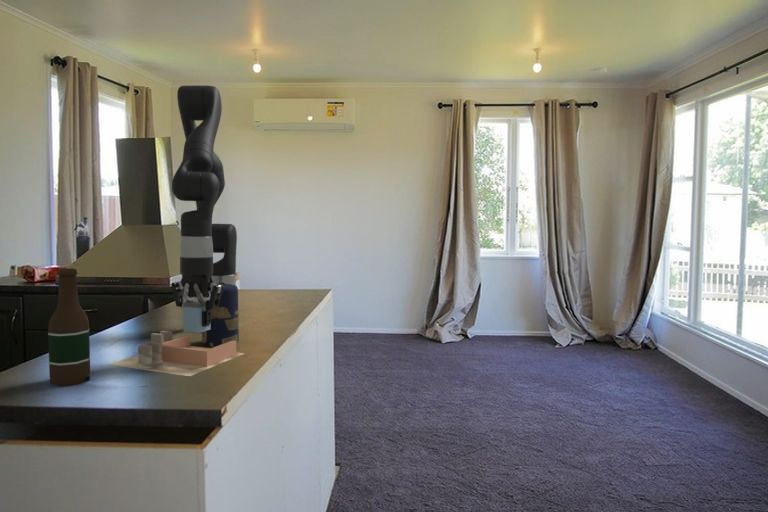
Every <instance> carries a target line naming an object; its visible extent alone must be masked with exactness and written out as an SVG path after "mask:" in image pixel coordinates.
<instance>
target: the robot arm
mask: <svg viewBox="0 0 768 512" xmlns="http://www.w3.org/2000/svg"><path fill="white" fill-rule="evenodd" d="M176 95H177V96H176V97H177V107H178V110H179V111H178V112H179V115H180V119H181V120H180V121H181V124H182V129H183V132H184V138H185V141H184V144H183V155H182V161H181V163H180V165H179V166H178V168H177V170H176V172H175V174H174V176H173V178H172V181H171V192H172V194H173V195H174V197H175V198H176V199H177V200H178V201H184V202H195V206H196V209H194V210H188V211H185V212H183V213H182V214H181V215H180V241H179V242H180V243H179V274H180V275H181V279H180V281H177V282H176V281H175V282H171V283H170V284H171V285H170V286H171V291H172V294H173V298H174V301H175V302H174V303H175V306H176V307H178V308H179V307H180V308H181V309H182V310H183V303H184V302H189V301H194V300H198V302H200V303H201V308H202V326H203V327H206V326H209V325H210V323H211V310H212V309H215V308H218V306H219V302H220V298H221V294H222V291H223V285H217V284H216V283H218V282H224V283H225V284H232V285H235V286H237V284H236V282H237V281H236V280H237V279H236V278H237V277H236V274H237V273H236V269H237V268H236V267H237V261H236V260H237V241H238V234H237V233H238V232H237V228H236V226H235V225H234V224H233V223H232V224H231V223H213V212H214V210H215V209H214V207H215V205H216V204H217V202H218V200H219V199H220V198H221V195H222V194H223V191H224V189H225V185H226V182H225V172H224V166H223V165H224V164H223V162H222V161H221V159H220V157H219V155H217V153H216V152H215V151H214V145H215V142H216V141H215V140H216V137H217V133H218V130H219V127H220V126H219V125H220V121H221V117H222V109H223V108H222V107H223V105H222V97H221V94H220V90H219V89H218V87H216V86H215V85H214V86H213V85H193V84H192V85H189V84H188V85H180V86H179V87H178V89H177V94H176ZM196 121H199V122H200V121H201V122H200V124H199V125H198V126H197V124H196ZM215 253H216V254H218V253H219V254H222V253H223V257H222V258H220V260H218V261H215V262H214V254H215ZM219 284H222V283H219ZM210 289H211V290H210ZM210 291H211V294H210ZM203 297H205V298H203ZM206 302H207V306H206Z"/></svg>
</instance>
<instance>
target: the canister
mask: <svg viewBox="0 0 768 512" xmlns="http://www.w3.org/2000/svg"><path fill="white" fill-rule="evenodd" d="M219 283H222V284H219ZM216 284H217V285H223V291H222V294H221V298H220V302H219V306H218V308H215V309H212V310H211V329H210V330H207V331H204V332H201V339H202V340H201V341H202V346H205V347H207V348H213V347H216V346H219V345H222V344H224V343H227V342H230V341H236V345H237V344H238V343H239V340H240V339H239V327H240V324H239V319H240V318H239V314H240V313H239V288H238V286H237V285H236V286H235V285H232V284H225V283H224V282H218V283H216ZM210 290H211V289H210ZM210 294H211V291H210ZM203 298H205V297H203Z"/></svg>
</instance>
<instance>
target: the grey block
mask: <svg viewBox="0 0 768 512" xmlns="http://www.w3.org/2000/svg"><path fill="white" fill-rule="evenodd" d="M206 306H207V302H206ZM182 312H183V313H182V314H183V317H182V319H183V326H182V327H183V332H185V333H194V334H200V333H202V332H204V331H207V330H210V329H211V323H210V325H209V326H206V327H203V326H202V308H201V303H200V302H198V299H195V300H194V301H189V302H184V303H183V309H182Z"/></svg>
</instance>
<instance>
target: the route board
mask: <svg viewBox="0 0 768 512" xmlns="http://www.w3.org/2000/svg"><path fill="white" fill-rule="evenodd" d="M170 340H173V331H171V330H170V331H168V330H161V331H159V333H154V332H152V333H151V334H150V341H148V343H147V344H139V345H138V346H137V352H138V353H137V354H136V355H134V356H130V357H127V358H124V359H121V360H118V361H114V362H111V363H109V364H107V365H108V366H114V367H122V368H128V369H136V370H142V371H150V372H156V373H163V374H170V375H171V374H172V375H175V376H176V375H177V376H185V377H192V376H194V375H197V374H199V373H201V372H204V371H206V370H208V369H212V368H213V367H216V366H218V365H220V364H223V363H225V362H228V361H230V360H233V359H236V358H238V357H240V356H243V355H245V353H244V352H243V353H242V352H239V354H238V355H235V356H233V357H230V358H228V359H226V360H223V361H221V362H218V363H216V364H213V365H211V366H208V367H204V366H196V365H189V364H181V363H174V362H166V361H162V343H163V342H167V341H170Z"/></svg>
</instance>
